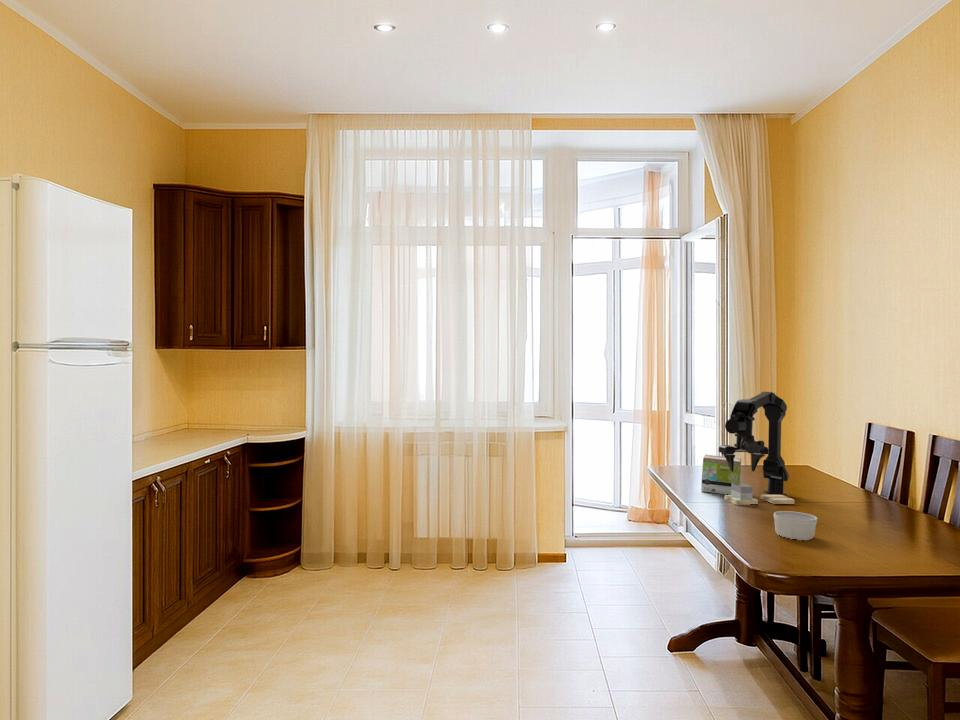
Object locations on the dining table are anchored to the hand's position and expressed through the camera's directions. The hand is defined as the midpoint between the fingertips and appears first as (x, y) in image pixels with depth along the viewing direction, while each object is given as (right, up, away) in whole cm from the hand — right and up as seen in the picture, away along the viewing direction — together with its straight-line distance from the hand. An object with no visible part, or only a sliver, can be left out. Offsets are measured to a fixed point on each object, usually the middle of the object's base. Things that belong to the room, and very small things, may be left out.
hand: (742, 471), depth 284 cm
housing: (0, -10, 0) cm, 10 cm away
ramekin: (0, -14, -47) cm, 50 cm away
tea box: (-2, -12, +19) cm, 23 cm away
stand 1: (-1, -12, 0) cm, 12 cm away
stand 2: (+15, -13, +3) cm, 20 cm away
